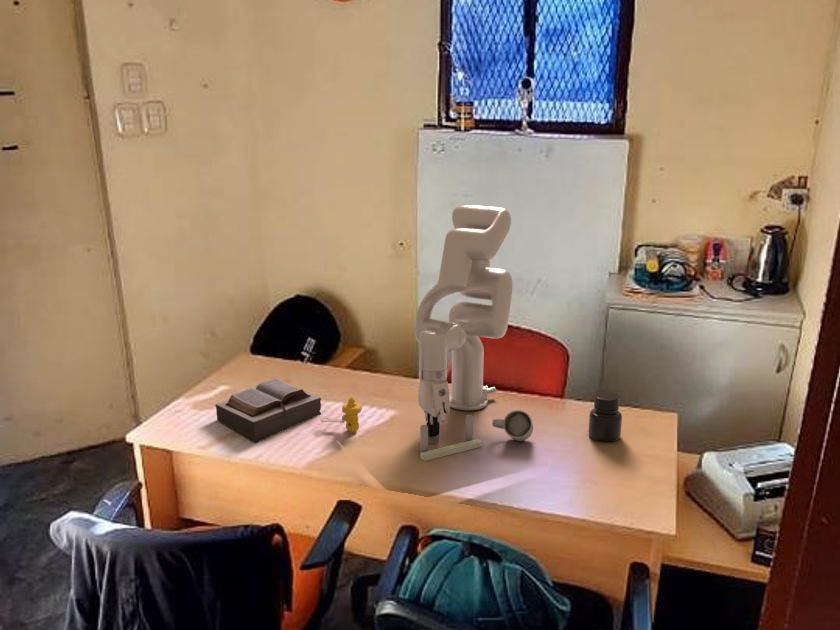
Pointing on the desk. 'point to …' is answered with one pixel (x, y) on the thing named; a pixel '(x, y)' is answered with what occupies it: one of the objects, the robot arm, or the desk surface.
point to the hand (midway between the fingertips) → (432, 435)
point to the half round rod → (434, 438)
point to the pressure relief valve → (348, 415)
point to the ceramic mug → (516, 425)
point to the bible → (267, 409)
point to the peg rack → (450, 449)
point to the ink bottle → (605, 417)
